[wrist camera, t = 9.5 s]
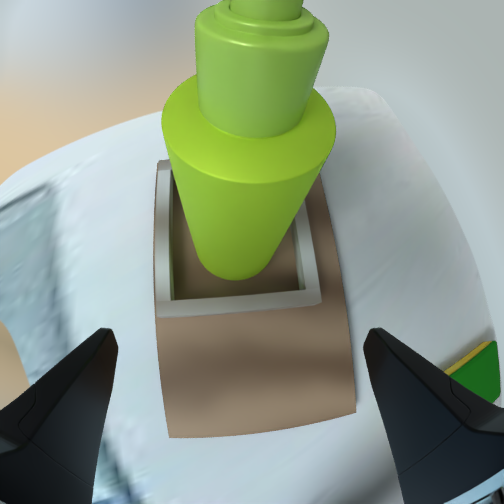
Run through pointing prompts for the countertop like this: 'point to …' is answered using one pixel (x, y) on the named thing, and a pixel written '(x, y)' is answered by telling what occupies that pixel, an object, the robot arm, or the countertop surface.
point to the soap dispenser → (248, 130)
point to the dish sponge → (479, 371)
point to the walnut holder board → (250, 328)
